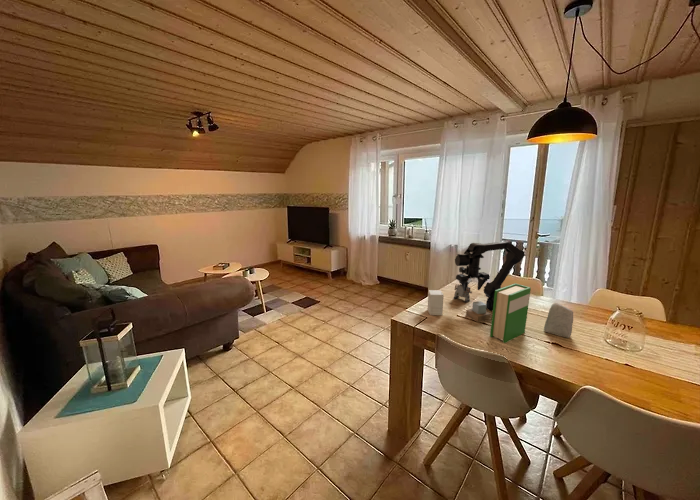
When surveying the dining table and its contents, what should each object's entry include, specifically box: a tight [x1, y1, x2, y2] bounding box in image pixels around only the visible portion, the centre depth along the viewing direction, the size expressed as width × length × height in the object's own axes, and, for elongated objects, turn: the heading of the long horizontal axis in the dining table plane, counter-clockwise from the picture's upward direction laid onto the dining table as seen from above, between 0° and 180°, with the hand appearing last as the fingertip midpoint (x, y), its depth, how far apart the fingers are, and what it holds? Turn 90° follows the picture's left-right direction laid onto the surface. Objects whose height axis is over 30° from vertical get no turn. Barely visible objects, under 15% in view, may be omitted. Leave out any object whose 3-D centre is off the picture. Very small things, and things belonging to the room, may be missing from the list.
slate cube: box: [471, 301, 487, 314], centre depth 157 cm, size 5×5×5 cm
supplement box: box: [427, 289, 445, 316], centre depth 164 cm, size 7×7×13 cm
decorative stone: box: [543, 302, 574, 339], centre depth 139 cm, size 11×6×15 cm, turn 39°
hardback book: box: [489, 282, 532, 344], centre depth 137 cm, size 18×7×24 cm, turn 122°
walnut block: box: [465, 308, 492, 323], centre depth 158 cm, size 9×9×4 cm
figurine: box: [453, 274, 473, 303], centre depth 182 cm, size 9×12×15 cm
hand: (471, 290), depth 165 cm, fingers open, 9 cm apart
